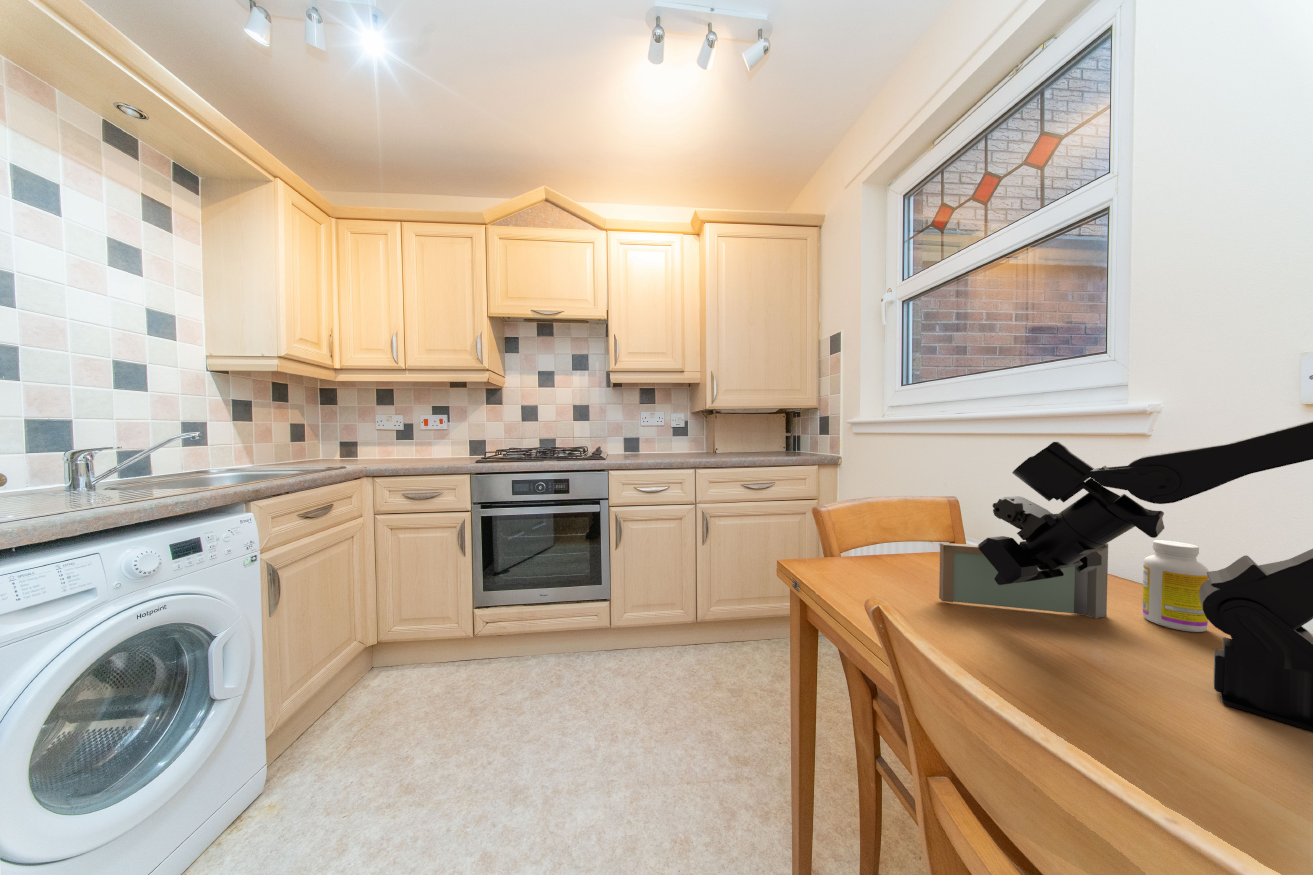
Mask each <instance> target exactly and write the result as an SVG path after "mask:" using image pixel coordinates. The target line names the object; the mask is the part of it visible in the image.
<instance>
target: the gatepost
mask: <svg viewBox="0 0 1313 875" xmlns="http://www.w3.org/2000/svg"><path fill="white" fill-rule="evenodd" d="M1105 545H1106V546H1107V548H1106V549H1104V550H1102V551H1099V552H1098V553H1099V554H1100V555H1101V556H1102V565H1100V566H1099V567H1097V568H1095V569H1093V570H1092V571H1088V585H1087V615H1085V616H1087V617H1090V618H1093V619H1098V618H1105V617H1107V609H1108V605H1107V604H1108V575H1109V574H1108V573H1109V572H1108V571H1109V564H1108V563H1109V542H1108V543H1106V544H1105Z"/></svg>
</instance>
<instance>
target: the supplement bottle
mask: <svg viewBox="0 0 1313 875" xmlns="http://www.w3.org/2000/svg"><path fill="white" fill-rule="evenodd" d="M1152 549H1153V551H1154V554H1151V555H1148V556H1146V557H1145V558H1144V559H1143V562H1142V563H1143V566H1142V568H1143V570H1142V572H1143V573H1142V576H1143V577H1142V616H1143V618H1144V619H1146V620H1147V621H1150V622H1151V623H1154V624H1156V625H1160V626H1163V627H1165V628H1168V629H1169V628H1170V629H1172V630H1178V631H1183V632H1192V633H1203V632H1206V630H1208V627H1209V626H1208V624H1209V620H1208V619H1207V618H1206V616H1205V614H1204V611H1203V609H1202V605H1201V602H1200V598H1199V590H1200V587H1201V585H1202V584H1203V583H1204V582H1206V581H1207V580H1209V578H1208V576H1207V572H1210V571H1209V569H1208V567H1207V566H1206V565H1205V564H1203V563H1201V562H1200V561H1198V560H1197V557H1198V555H1199V554H1200V547H1199V546H1198V545H1195V544H1192V543H1189V542H1188V543H1187V542H1181V541H1173V540H1164V539H1163V540H1162V539H1156V540H1153V541H1152Z"/></svg>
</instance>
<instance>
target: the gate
mask: <svg viewBox="0 0 1313 875" xmlns="http://www.w3.org/2000/svg"><path fill="white" fill-rule="evenodd" d="M1079 561H1080V560H1079ZM1080 562H1081V561H1080ZM1082 564H1083V563H1082V562H1081V563H1080V564H1078V565H1076V566H1074V567H1068V568H1061V569H1060V570H1061V571H1062V572H1063V574H1064V575H1063V576H1061V577H1055V578H1048V579H1042V580H1036V581H1028V582H1020V583H1012V584H1004V585H998V584H997V582H996V581H995V580H994V578H995V577H996V575H997V573H998V571H997V570H996V569H995V568H994V567H993V565H992V564H991V563H990V562H989V561H988V559H987V558H986V557H985V556H984V555H983V553H982V552H981V551H980V550H979V548H978V544H966V543H951V542H949V543H948V542H940V543H939V583H938V584H939V585H938V586H939V587H938V590H939V591H938V598H939V599H940V601H941V602H944V603H945V602H946V603H947V602H948V603H963V604H972V605H980V606H981V605H983V606H994V607H1005V608H1014V609H1015V608H1016V609H1023V610H1024V609H1025V610H1035V611H1044V612H1045V611H1047V612H1056V613H1066V614H1077V615H1083V616H1086V615H1087V585H1088V572H1081V573H1080V572H1079V571H1078V570H1077V567H1079V566H1080V565H1082Z"/></svg>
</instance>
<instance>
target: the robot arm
mask: <svg viewBox="0 0 1313 875" xmlns="http://www.w3.org/2000/svg"><path fill="white" fill-rule="evenodd" d="M1312 460H1313V420H1310V421H1307V422H1302V423H1299V424H1297V425H1296V424H1295V425H1291V426H1287V427H1284V428H1281V429H1277V430H1273V431H1270V432H1265V433H1262V434H1258V435H1255V436H1251V437H1246V438H1244V439H1243V438H1242V439H1239V440H1236V441H1232V442H1229V443H1225V444H1217V445H1211V446H1204V447H1196V448H1190V449H1182V450H1176V451H1169V452H1161V453H1156V454H1155V453H1154V454H1148V455H1144V456H1141V457H1139V458H1136V459H1134V460H1132V461H1131V462H1130V463H1129V464H1128V465H1120V466H1109V467H1108V466H1106V465H1104V466H1102V467H1099V468H1094V467H1093V466H1092V465H1090V464H1089V463H1087V462H1085V461H1084V460H1083V459H1081V458H1080V457H1078V456H1077V455H1076V454H1074V453H1073V452H1071V450H1069V449H1068V448H1067V447H1066V446H1065V445H1064V444H1062V443H1061V442H1059V441H1053V442H1050V444H1048V446H1046V447H1045V448H1044V449H1042V450H1040V451H1039V452H1037V453H1036V454H1034V455H1032V456H1029V457H1028V458H1027V459H1025V460H1024V461H1022V462H1021V464H1019V465H1018V466H1017V467H1016V468H1015V469H1013V471H1012V472H1011V474H1013V475H1014V476H1015V477H1017V478H1018V480H1021V481H1022V482H1023V483H1024V484H1026V485H1027V486H1028V487H1029V488H1031V489H1032V490H1033V491H1035V492H1036V493H1037V494H1039V495H1040V496H1041V497H1042V498H1044V499H1045V500H1046V501H1048V502H1050V501H1052V500H1054V499H1055V500H1056V501H1059V500H1060V501H1061V502H1062V503H1065V502H1066V501H1068V500H1070V499H1071V498H1072V497H1074V496H1076V494H1078V493H1079V492H1081V491H1082V490H1085V491H1086V492H1087V493H1086V494H1084V495H1083V496H1081V497H1080V498H1079V499H1077V500H1076V501H1074V502H1073V503H1071V504H1070V505H1069V506H1067V507H1066V508H1064V509H1063V510H1061V511H1060V512H1058V513H1052V512H1051V511H1050V510H1048V509H1047V508H1044V507H1042V506H1040V505H1039V504H1037V503H1035V502H1033V501H1032V500H1029V499H1028V498H1025V497H1023V496H1017V495H1014V496H1003V497H1002V498H999V499H998V500H997V502H994V503H993V504H992V508H993V509H992V513H993V515H994V517H996V519H999V520H1002V521H1004V522H1006V523H1008V524H1010V525H1012V526H1013V527H1015V528H1016V529H1018V530H1019V531H1018V532H1016V534H1017V535H1018V536H1019V538H1020V539H1021V540H1022V541H1020V542H1019V543H1018V542H1017V541H1016V540H1015V538H1013V537H1009V536H1004V535H1002V536H990V537H987V538H985V539H983V541H981V542H980V543H979V544H977V545H978V548H979V550H980V551H981V552H982V553H983V555H984V556H985V557H986V558H987V559H988V561H989V562H990V563H991V564H992V565H993V567H994V568H995V569H996V570H997V571H998V573H997V575H996V577H995V578H994V580H995V581H996V582H997V584H998V585H1004V584H1012V583H1020V582H1028V581H1036V580H1042V579H1048V578H1055V577H1061V576H1063V575H1064V574H1063V572H1062V571H1061V570H1060V569H1061V568H1068V567H1074V566H1076V565H1078V564H1080V563H1081V562H1082V563H1083V564H1082V565H1080V566H1079V567H1077V570H1078V571H1079V572H1080V573H1081V572H1088V571H1092V570H1093V569H1095V568H1097V567H1099V566H1100V565H1102V556H1101V555H1100V554H1099V553H1098V552H1099V551H1102V550H1104V549H1106V548H1107V546H1106V545H1105V544H1106V543H1108V544H1109V542H1111V541H1113V540H1115V539H1116V538H1118V537H1120V536H1121V535H1123V534H1124V533H1126V532H1128V531H1130V530H1131V529H1133V528H1135V527H1136V528H1137V529H1138V530H1140V531H1142V532H1143V533H1144V534H1145V535H1146V536H1148V537H1150V538H1153V539H1155V538H1157V537H1158V536H1159V535H1161V533H1162V532H1163V531H1164V530H1165V524H1164V521H1163V519H1164V518H1163V517H1164V515H1165V512H1164V511H1163V510H1155V509H1154V510H1152V509H1148V508H1146V507H1144V506H1143V505H1141V504H1139V503H1138V501H1135V500H1134V499H1132V498H1131V497H1130V496H1128V495H1127V494H1125V493H1122V494H1121V495H1119V494H1118V493H1116V492H1113V491H1111V490H1110V489H1108V488H1111V489H1116V490H1123V491H1128V492H1129V494H1130V495H1131V496H1134V497H1135V498H1137V499H1139V500H1141V501H1144V502H1147V503H1151V504H1158V505H1165V504H1175V503H1177V502H1181V501H1182V500H1185V499H1188V498H1191V497H1193V496H1197V495H1200V494H1202V493H1205V492H1207V491H1210V490H1213V489H1215V488H1218V487H1220V486H1222V485H1225V484H1227V483H1230V482H1232V481H1234V480H1237V479H1241V478H1242V477H1243V478H1244V477H1245V476H1248V475H1252V474H1255V473H1260V472H1263V471H1265V472H1266V471H1268V470H1272V469H1278V468H1281V467H1285V466H1286V467H1287V466H1290V465H1294V464H1298V463H1303V462H1308V461H1312ZM1079 560H1080V561H1081V562H1080V561H1079ZM1207 576H1208V578H1209V579H1208V580H1207V581H1206V582H1204V583H1203V584H1202V585H1201V587H1200V590H1199V598H1200V602H1201V605H1202V609H1203V611H1204V614H1205V616H1206V618H1207V619H1208V622H1209V623H1211V625H1212V626H1213V627H1214V628H1216V629H1218V630H1219V631H1221V632H1222V633H1223V634H1226V635H1228V636H1230V638H1228V637H1223V638H1222V649H1219V648H1217V649H1214V650H1213V652H1214V653H1213V679H1212V680H1213V689H1214V691H1216V692H1217V693H1219V694H1220V699H1221V703H1222V704H1223V705H1226V706H1229V707H1232V708H1235V709H1239V710H1242V711H1245V712H1248V713H1253V714H1255V715H1259V716H1262V717H1266V718H1267V719H1268V718H1269V719H1272V720H1275V721H1279V722H1283V723H1284V724H1285V723H1286V724H1289V725H1292V726H1295V727H1297V728H1298V727H1299V728H1302V729H1305V730H1308V731H1311V732H1313V635H1312V633H1310V631H1309V630H1307V629H1306V628H1305V627H1303V626H1304V625H1305V624H1307V623H1309V622H1311V621H1312V620H1313V548H1310V549H1308V550H1306V551H1304V552H1302V553H1300V554H1298V555H1295V556H1293V557H1290V558H1288V559H1285V560H1281V561H1275V562H1269V563H1266V564H1259V565H1258V564H1257V563H1256V562H1255V561H1254V560H1253V559H1252V558H1251V557H1250V556H1249V555H1247V554H1246V555H1243V556H1241V557H1240V558H1238V559H1236V560H1235V561H1234V562H1232V563H1231V564H1230V565H1228V566H1226V567H1225V568H1221V569H1218V570H1213V571H1212V570H1211V571H1209V572H1207Z"/></svg>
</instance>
